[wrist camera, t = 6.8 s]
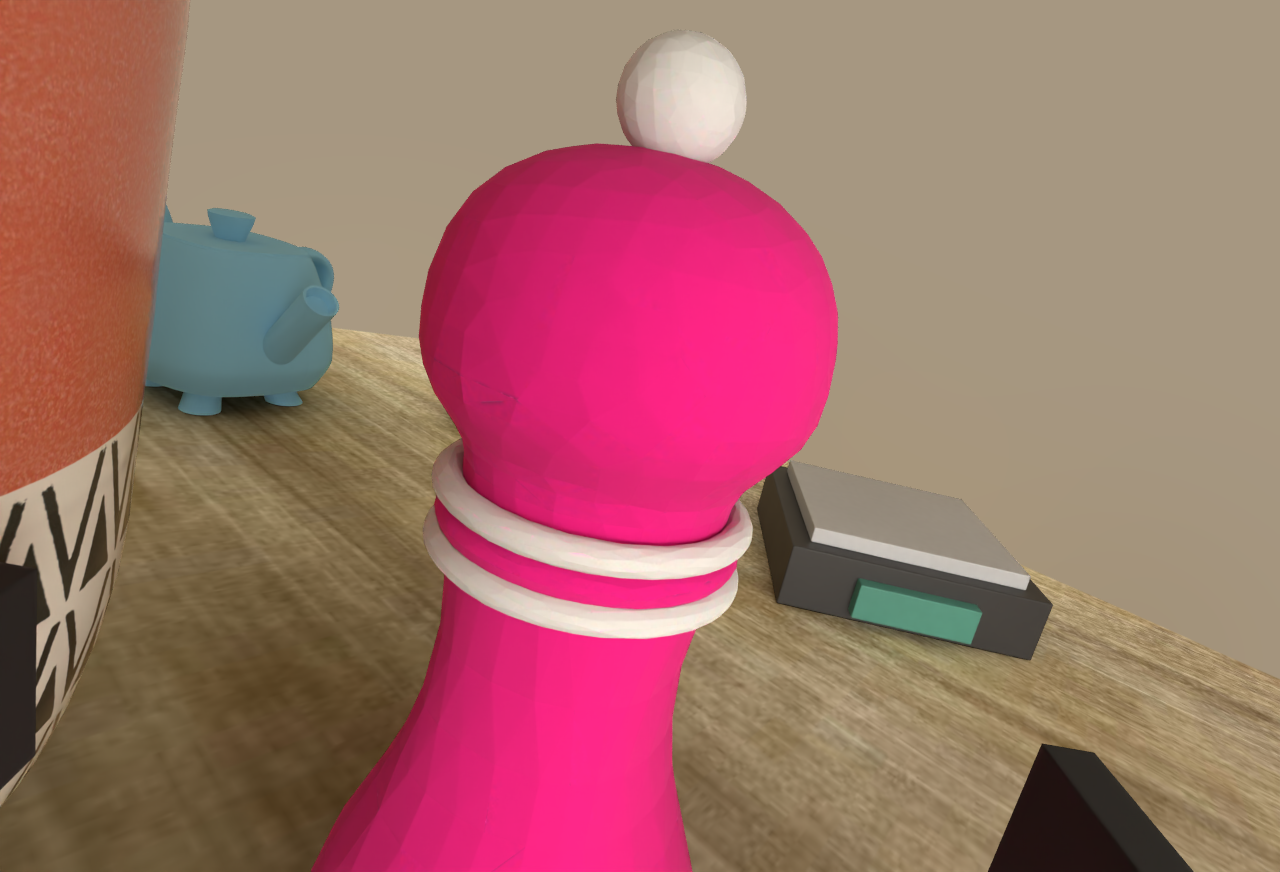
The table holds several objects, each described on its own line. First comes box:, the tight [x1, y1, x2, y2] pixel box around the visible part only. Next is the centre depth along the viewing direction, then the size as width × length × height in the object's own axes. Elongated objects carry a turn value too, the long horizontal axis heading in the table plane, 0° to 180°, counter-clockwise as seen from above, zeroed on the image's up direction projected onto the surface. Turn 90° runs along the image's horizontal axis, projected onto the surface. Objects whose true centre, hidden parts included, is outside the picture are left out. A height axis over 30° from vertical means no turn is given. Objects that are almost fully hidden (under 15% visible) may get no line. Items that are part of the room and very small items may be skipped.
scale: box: [757, 461, 1053, 660], centre depth 46 cm, size 14×13×4 cm
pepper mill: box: [311, 30, 838, 872], centre depth 14 cm, size 7×7×20 cm
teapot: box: [145, 205, 339, 415], centre depth 51 cm, size 15×14×11 cm
